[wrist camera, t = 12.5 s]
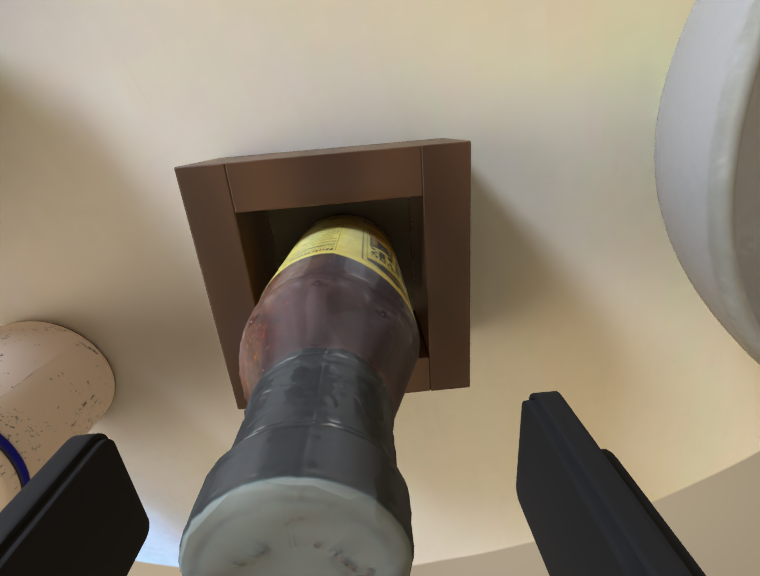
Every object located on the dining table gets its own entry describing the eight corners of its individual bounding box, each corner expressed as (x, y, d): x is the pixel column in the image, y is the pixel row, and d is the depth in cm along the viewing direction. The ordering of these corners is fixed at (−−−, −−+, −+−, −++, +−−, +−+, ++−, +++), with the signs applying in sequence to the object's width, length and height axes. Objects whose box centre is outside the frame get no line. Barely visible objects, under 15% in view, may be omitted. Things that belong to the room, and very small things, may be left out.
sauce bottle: (397, 297, 26) (485, 680, 8) (304, 307, 26) (177, 715, 8) (389, 198, 24) (488, 424, 6) (287, 209, 24) (46, 472, 6)
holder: (444, 138, 23) (471, 140, 17) (447, 335, 28) (469, 387, 22) (218, 158, 23) (173, 167, 17) (262, 353, 28) (238, 410, 22)
